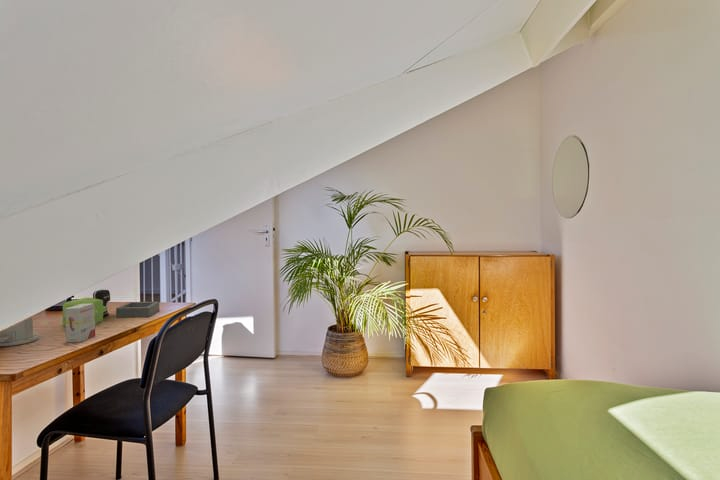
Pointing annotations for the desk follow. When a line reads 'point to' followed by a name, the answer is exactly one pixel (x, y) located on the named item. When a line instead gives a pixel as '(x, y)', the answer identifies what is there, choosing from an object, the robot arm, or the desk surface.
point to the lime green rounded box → (97, 303)
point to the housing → (137, 309)
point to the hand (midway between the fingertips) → (102, 270)
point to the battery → (102, 298)
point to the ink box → (80, 322)
